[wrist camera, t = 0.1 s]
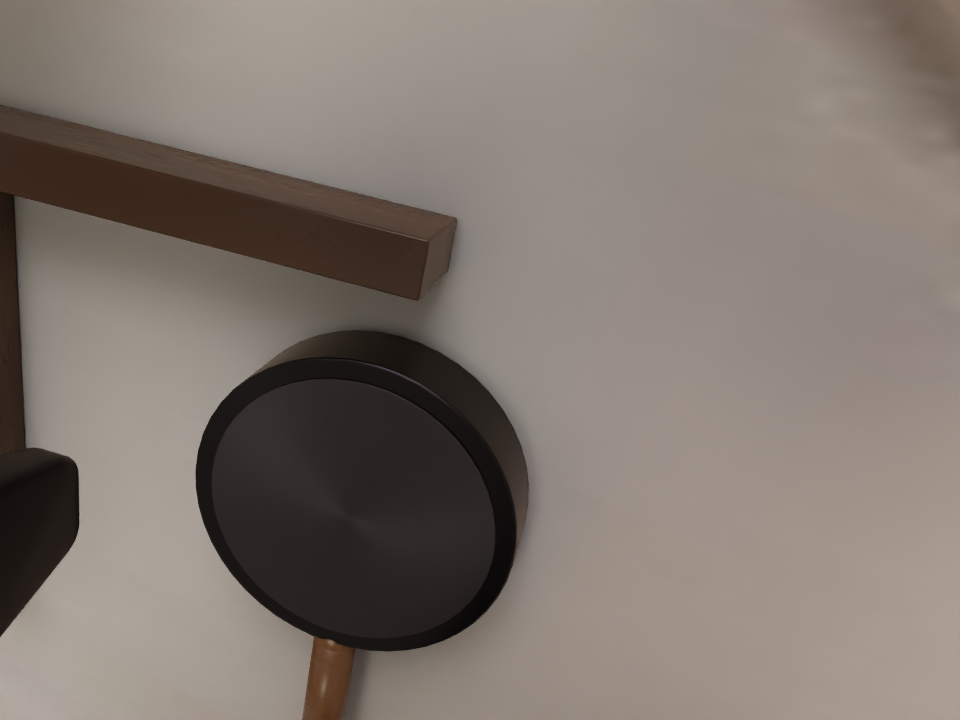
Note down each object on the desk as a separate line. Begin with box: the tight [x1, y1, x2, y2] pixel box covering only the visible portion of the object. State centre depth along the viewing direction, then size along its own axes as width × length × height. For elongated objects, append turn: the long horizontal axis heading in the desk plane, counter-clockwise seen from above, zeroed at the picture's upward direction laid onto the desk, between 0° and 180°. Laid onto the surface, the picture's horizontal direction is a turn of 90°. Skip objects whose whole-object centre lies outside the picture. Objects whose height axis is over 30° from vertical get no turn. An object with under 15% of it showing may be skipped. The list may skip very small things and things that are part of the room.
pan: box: [196, 330, 529, 720], centre depth 25 cm, size 17×10×2 cm, turn 169°
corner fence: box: [0, 105, 457, 454], centre depth 24 cm, size 17×16×3 cm
